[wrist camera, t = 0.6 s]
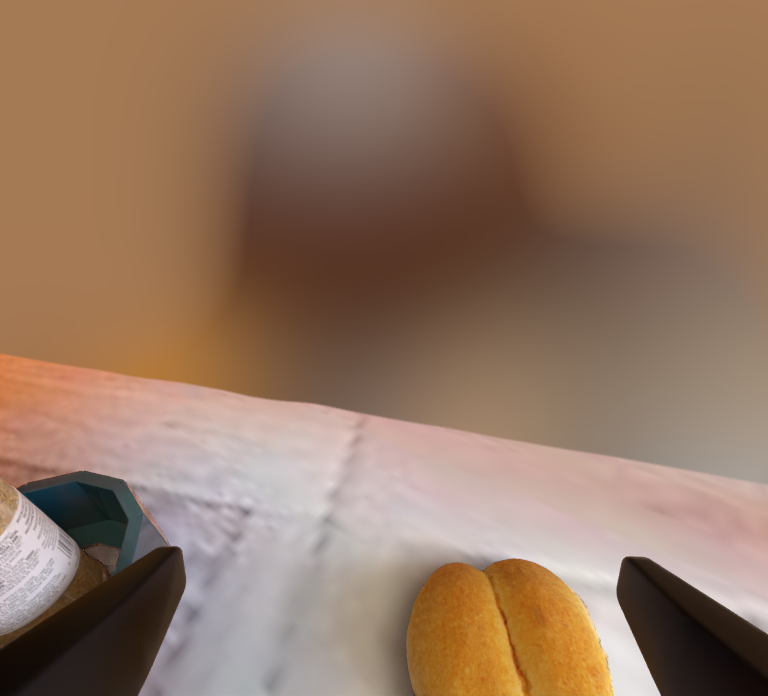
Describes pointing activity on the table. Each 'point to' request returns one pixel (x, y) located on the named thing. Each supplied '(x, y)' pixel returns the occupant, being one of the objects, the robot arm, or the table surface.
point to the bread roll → (503, 635)
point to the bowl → (98, 513)
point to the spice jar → (37, 566)
